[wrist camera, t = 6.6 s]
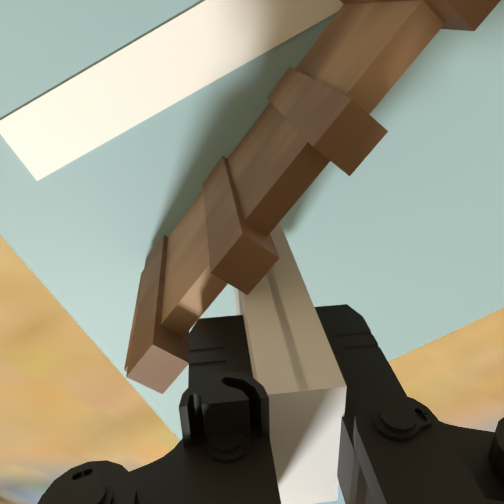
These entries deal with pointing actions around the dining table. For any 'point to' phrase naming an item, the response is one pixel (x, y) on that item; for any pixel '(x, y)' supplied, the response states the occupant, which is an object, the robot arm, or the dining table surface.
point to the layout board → (224, 142)
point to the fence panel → (280, 169)
